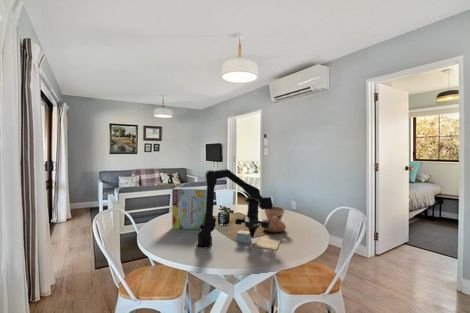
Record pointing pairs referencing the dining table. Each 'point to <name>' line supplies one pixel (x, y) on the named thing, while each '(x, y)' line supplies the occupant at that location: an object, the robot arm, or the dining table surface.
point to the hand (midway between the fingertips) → (252, 237)
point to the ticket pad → (267, 243)
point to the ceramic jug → (275, 219)
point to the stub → (243, 236)
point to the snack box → (188, 207)
